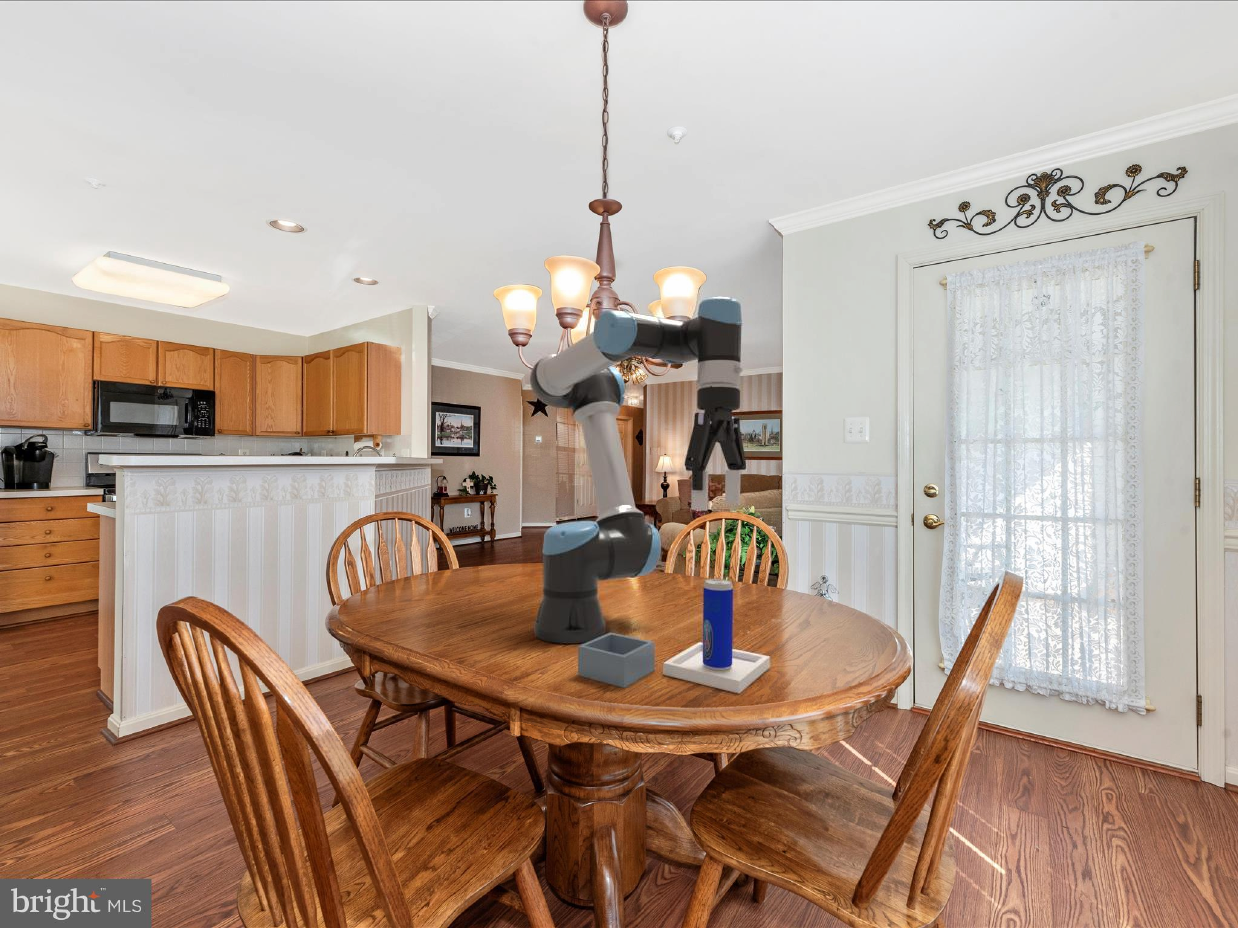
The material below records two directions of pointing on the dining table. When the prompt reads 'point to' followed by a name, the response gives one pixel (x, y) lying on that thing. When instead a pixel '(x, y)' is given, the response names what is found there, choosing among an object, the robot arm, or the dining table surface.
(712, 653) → the beverage can
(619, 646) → the holder sleeve
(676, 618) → the dining table surface
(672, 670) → the tray
